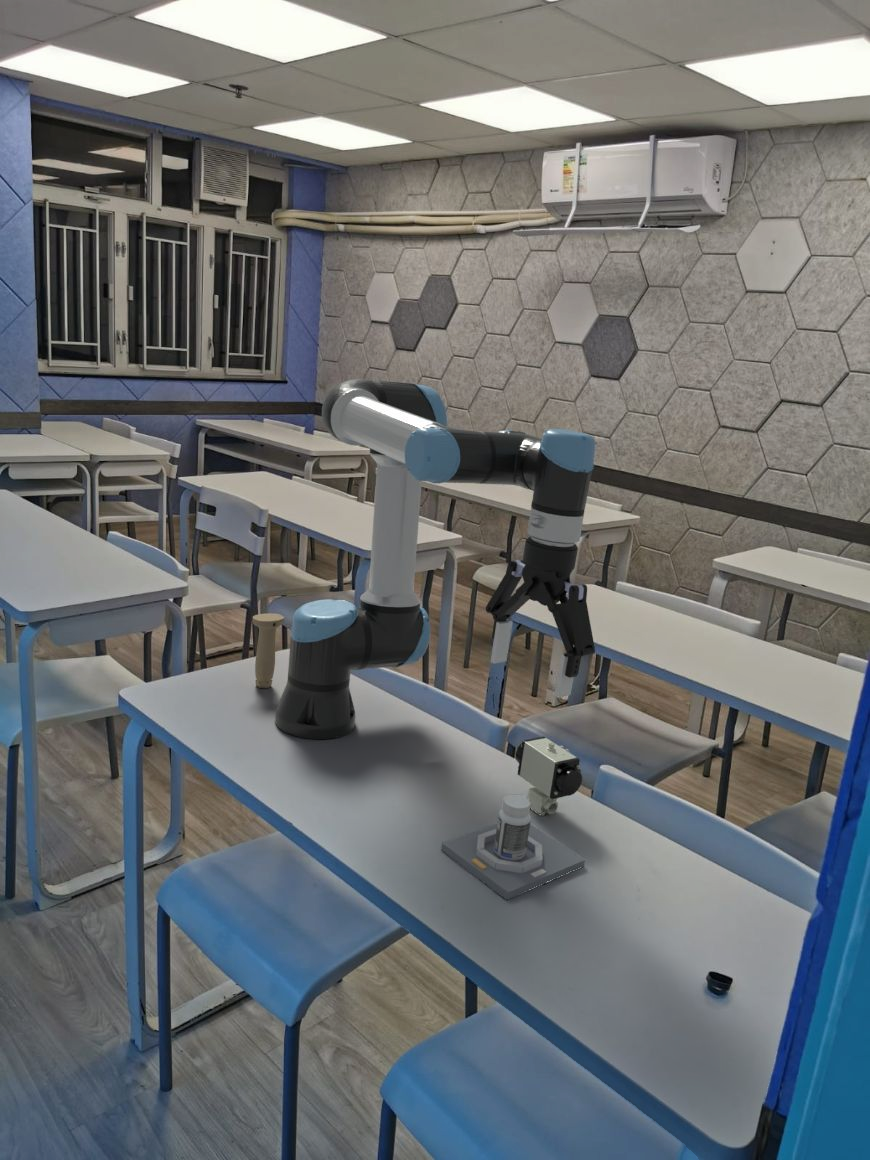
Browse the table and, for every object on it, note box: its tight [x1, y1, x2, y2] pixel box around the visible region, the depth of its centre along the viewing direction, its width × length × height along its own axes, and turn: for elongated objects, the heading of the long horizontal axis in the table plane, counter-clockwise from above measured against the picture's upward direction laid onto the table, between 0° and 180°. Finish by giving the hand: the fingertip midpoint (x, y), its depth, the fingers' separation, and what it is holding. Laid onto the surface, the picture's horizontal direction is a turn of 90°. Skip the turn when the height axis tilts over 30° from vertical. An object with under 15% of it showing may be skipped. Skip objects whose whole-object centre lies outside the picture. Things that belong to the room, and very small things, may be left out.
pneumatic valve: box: [515, 736, 583, 815], centre depth 143 cm, size 6×12×12 cm, turn 33°
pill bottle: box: [494, 794, 532, 861], centre depth 127 cm, size 5×5×8 cm
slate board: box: [440, 823, 586, 900], centre depth 129 cm, size 14×16×2 cm
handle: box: [252, 612, 285, 689], centre depth 180 cm, size 5×6×15 cm
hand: (529, 678), depth 130 cm, fingers open, 13 cm apart
